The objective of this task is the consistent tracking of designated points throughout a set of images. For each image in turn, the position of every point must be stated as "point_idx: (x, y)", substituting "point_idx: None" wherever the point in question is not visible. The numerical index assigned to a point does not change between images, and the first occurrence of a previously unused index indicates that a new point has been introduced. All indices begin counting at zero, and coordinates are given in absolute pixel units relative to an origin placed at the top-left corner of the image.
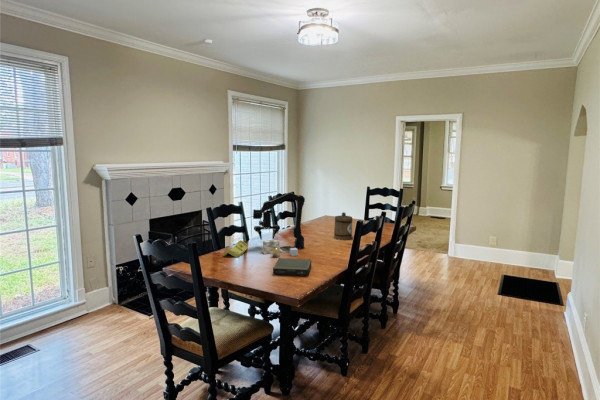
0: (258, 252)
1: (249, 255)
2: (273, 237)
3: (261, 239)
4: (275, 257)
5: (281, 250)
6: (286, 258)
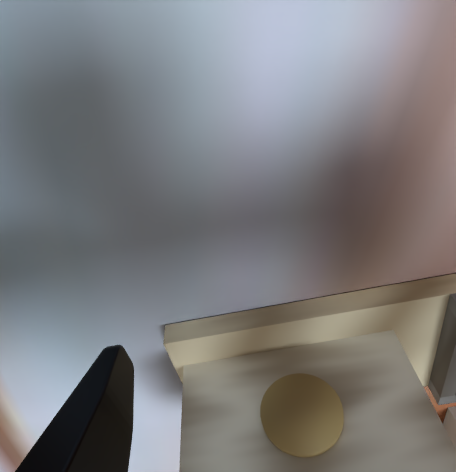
0: None
1: (40, 423)
2: None
3: (133, 378)
4: None
5: (416, 370)
6: None
